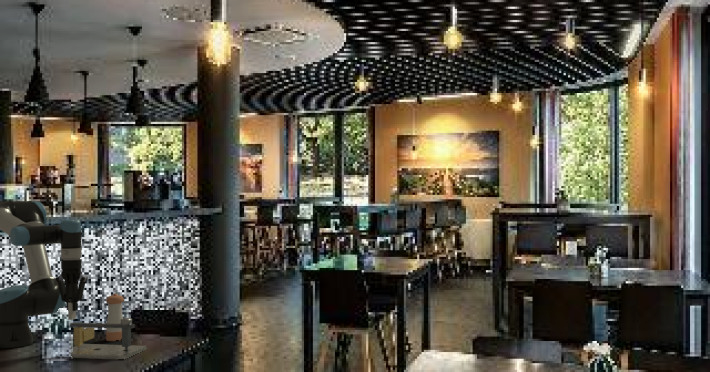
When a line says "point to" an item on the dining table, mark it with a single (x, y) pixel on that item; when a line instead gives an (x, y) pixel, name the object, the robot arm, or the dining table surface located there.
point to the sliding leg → (82, 335)
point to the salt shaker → (114, 317)
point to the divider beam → (125, 325)
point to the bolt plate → (106, 351)
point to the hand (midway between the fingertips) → (72, 319)
